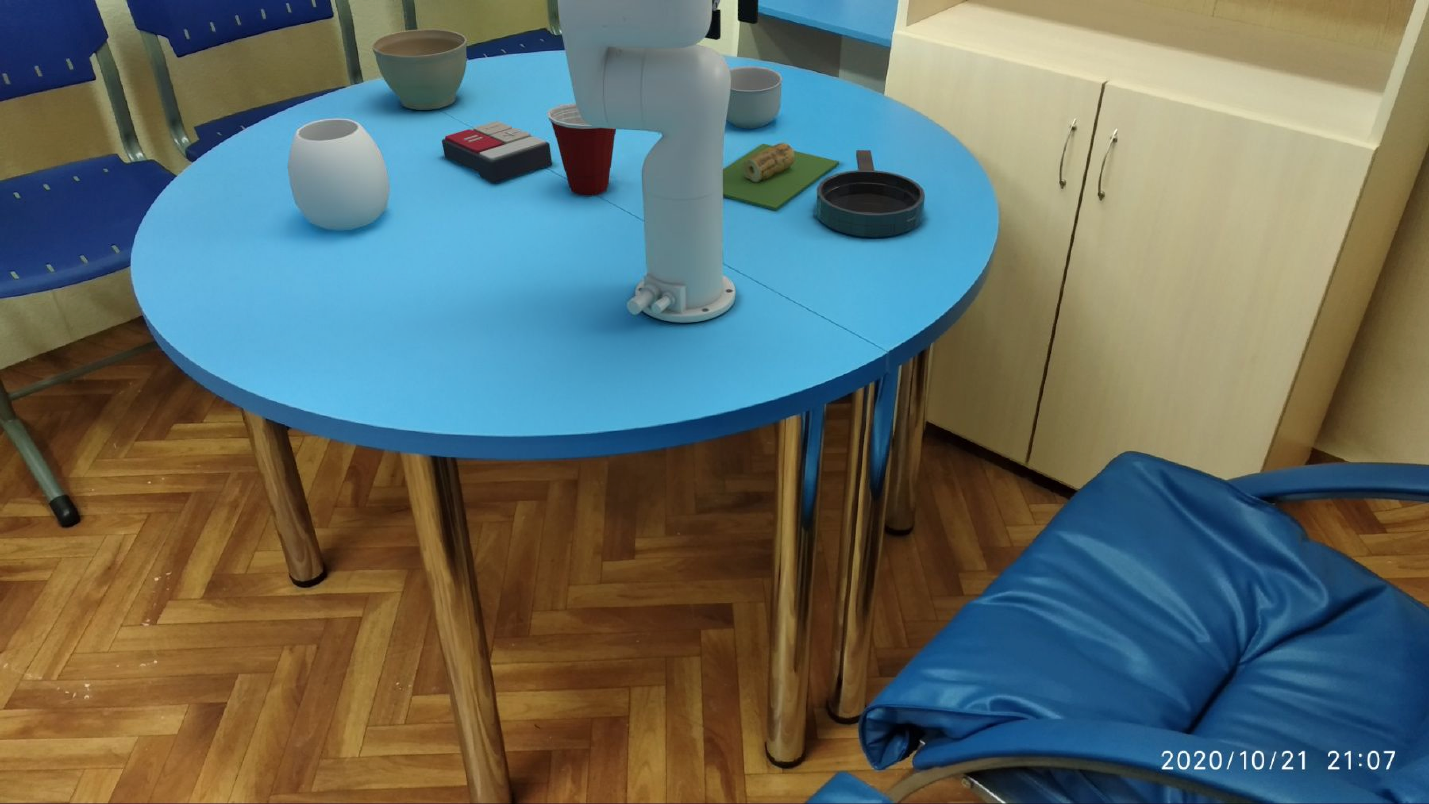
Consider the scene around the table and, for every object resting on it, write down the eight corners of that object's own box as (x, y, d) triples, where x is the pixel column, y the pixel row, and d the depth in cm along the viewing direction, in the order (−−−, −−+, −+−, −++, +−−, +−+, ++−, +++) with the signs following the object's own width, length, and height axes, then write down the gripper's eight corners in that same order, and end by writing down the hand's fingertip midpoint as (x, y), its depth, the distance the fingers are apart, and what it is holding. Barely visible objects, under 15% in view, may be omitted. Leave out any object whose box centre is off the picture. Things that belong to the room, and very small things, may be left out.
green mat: (775, 211, 153) (776, 207, 153) (695, 189, 159) (695, 186, 159) (839, 164, 167) (839, 161, 167) (763, 146, 173) (763, 143, 173)
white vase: (281, 231, 149) (256, 140, 141) (340, 194, 159) (320, 107, 151) (358, 246, 145) (336, 153, 137) (413, 207, 155) (397, 119, 147)
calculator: (497, 118, 174) (550, 138, 165) (501, 143, 176) (553, 164, 167) (439, 135, 168) (490, 157, 159) (444, 161, 170) (494, 184, 161)
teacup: (792, 118, 183) (793, 72, 178) (760, 138, 176) (761, 91, 171) (724, 104, 189) (724, 59, 185) (691, 122, 182) (690, 77, 177)
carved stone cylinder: (760, 185, 159) (760, 160, 157) (740, 177, 162) (740, 152, 159) (796, 170, 164) (797, 145, 162) (776, 162, 166) (777, 138, 164)
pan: (894, 248, 143) (897, 224, 141) (797, 222, 150) (798, 198, 148) (938, 207, 154) (941, 184, 152) (845, 184, 161) (847, 162, 158)
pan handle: (874, 178, 156) (874, 172, 156) (859, 178, 156) (859, 172, 156) (870, 156, 163) (870, 150, 162) (855, 156, 163) (856, 150, 163)
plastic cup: (640, 187, 160) (636, 110, 153) (587, 209, 154) (580, 131, 147) (593, 167, 166) (587, 93, 159) (539, 188, 160) (531, 112, 153)
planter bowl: (464, 118, 184) (455, 55, 178) (373, 118, 185) (360, 56, 178) (482, 87, 197) (474, 28, 191) (396, 87, 198) (385, 28, 191)
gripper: (717, -89, 133) (717, 49, 142) (787, -108, 144) (783, 20, 154) (669, -95, 136) (672, 40, 146) (741, -113, 148) (739, 13, 157)
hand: (729, 30), depth 150 cm, fingers open, 9 cm apart
